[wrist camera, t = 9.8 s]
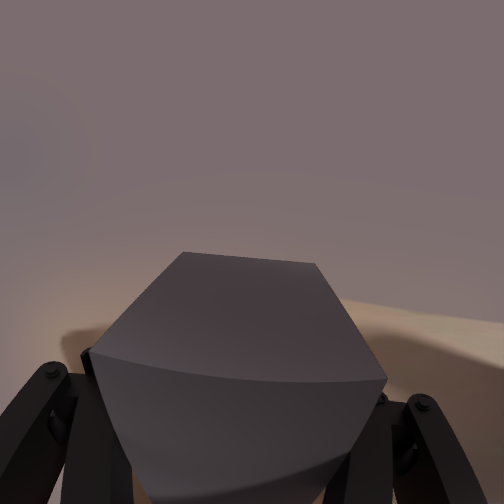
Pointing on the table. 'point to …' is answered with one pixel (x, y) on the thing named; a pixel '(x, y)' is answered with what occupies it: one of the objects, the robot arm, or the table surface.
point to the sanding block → (236, 382)
